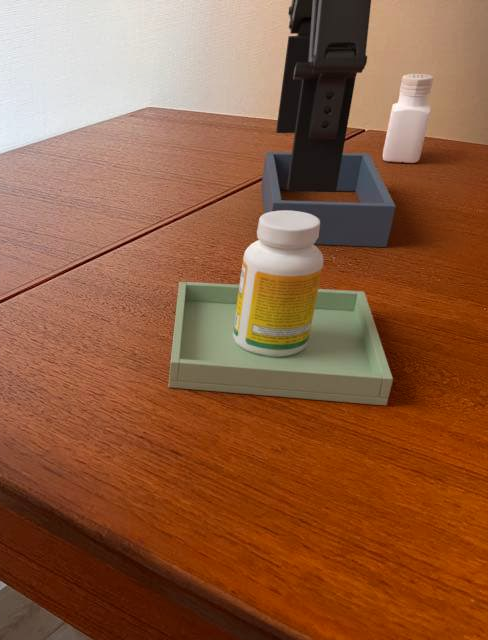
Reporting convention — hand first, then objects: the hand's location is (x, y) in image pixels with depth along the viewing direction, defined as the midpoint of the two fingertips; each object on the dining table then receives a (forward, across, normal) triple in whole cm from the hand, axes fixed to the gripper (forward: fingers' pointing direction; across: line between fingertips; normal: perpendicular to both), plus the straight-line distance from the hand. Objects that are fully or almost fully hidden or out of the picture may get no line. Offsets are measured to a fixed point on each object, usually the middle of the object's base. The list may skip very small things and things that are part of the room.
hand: (302, 158), depth 57 cm
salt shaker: (+15, -52, +17) cm, 57 cm away
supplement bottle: (+14, 0, 0) cm, 14 cm away
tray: (+14, 0, 0) cm, 14 cm away
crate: (+15, -31, +6) cm, 35 cm away
